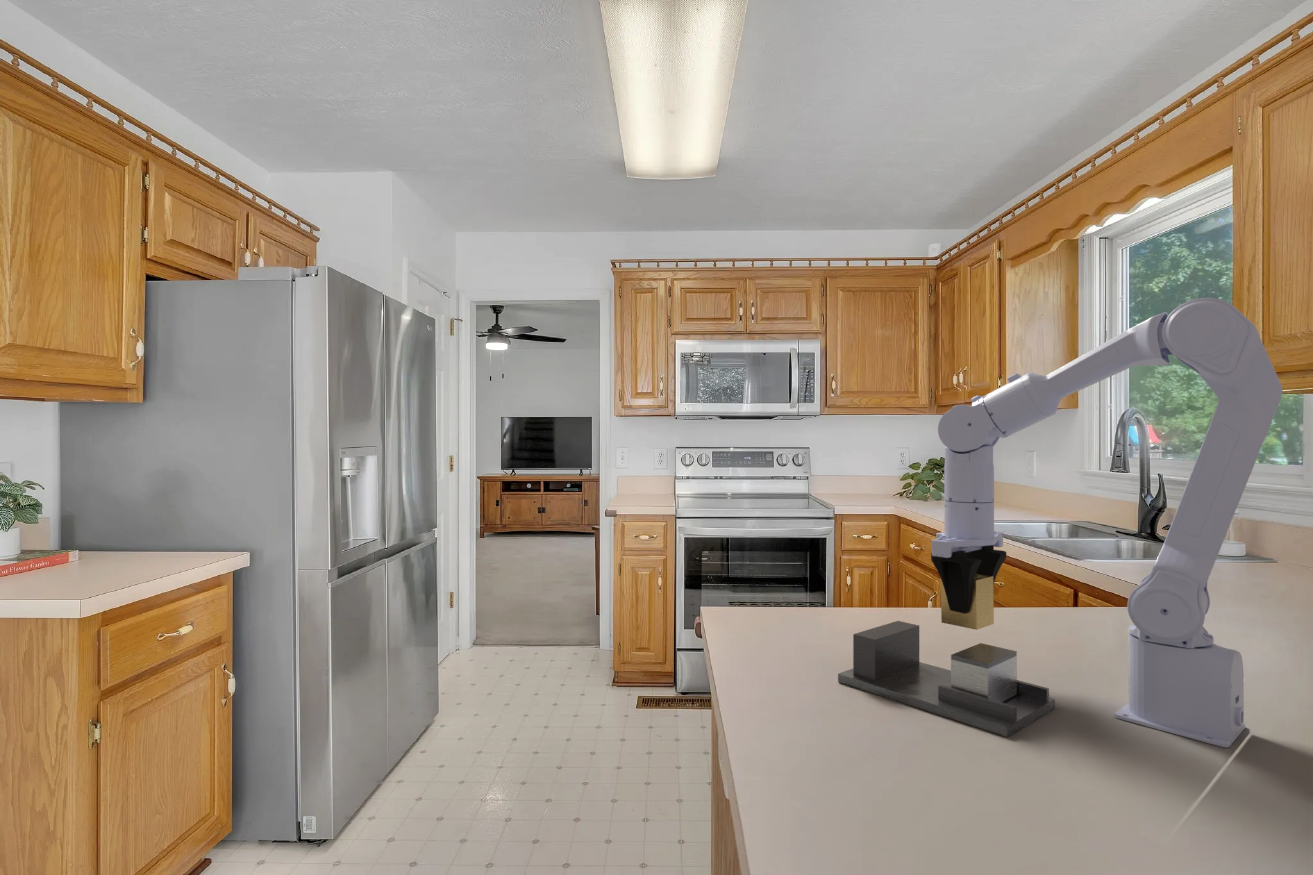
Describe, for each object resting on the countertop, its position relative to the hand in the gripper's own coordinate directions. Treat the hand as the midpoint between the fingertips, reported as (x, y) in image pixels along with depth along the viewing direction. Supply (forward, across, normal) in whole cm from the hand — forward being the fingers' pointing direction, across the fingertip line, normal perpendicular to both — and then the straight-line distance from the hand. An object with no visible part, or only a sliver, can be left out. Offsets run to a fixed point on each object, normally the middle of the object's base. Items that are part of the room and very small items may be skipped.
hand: (969, 608), depth 85 cm
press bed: (+8, +9, +1) cm, 12 cm away
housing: (+2, 0, 0) cm, 2 cm away
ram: (+7, +9, +6) cm, 13 cm away
